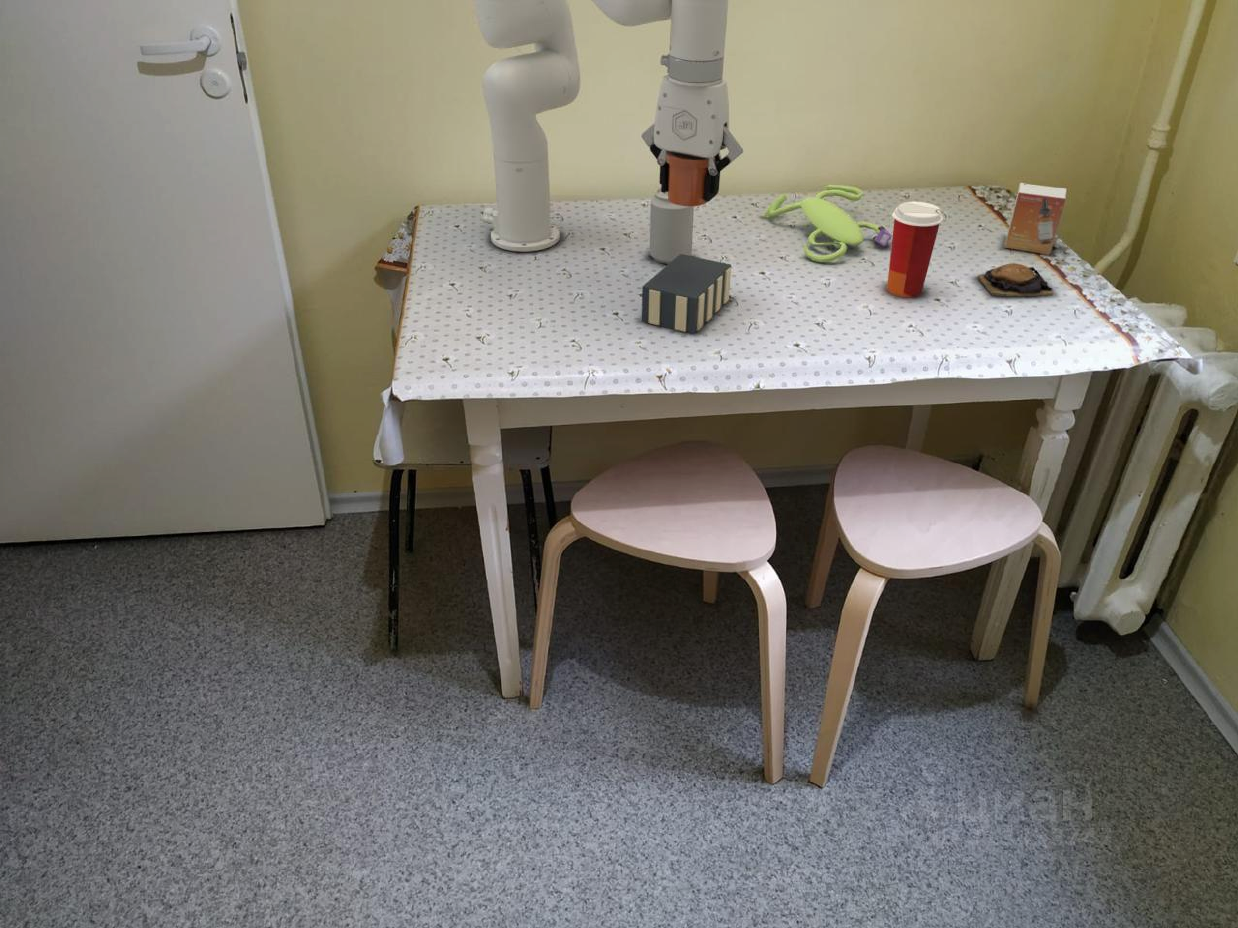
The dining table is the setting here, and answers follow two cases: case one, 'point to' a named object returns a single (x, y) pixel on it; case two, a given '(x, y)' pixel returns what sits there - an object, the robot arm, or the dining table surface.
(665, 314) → the dark grey striped block
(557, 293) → the dining table surface
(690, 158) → the terracotta pot
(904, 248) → the paper cup
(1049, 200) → the small box
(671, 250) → the can
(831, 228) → the figurine
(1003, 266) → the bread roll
